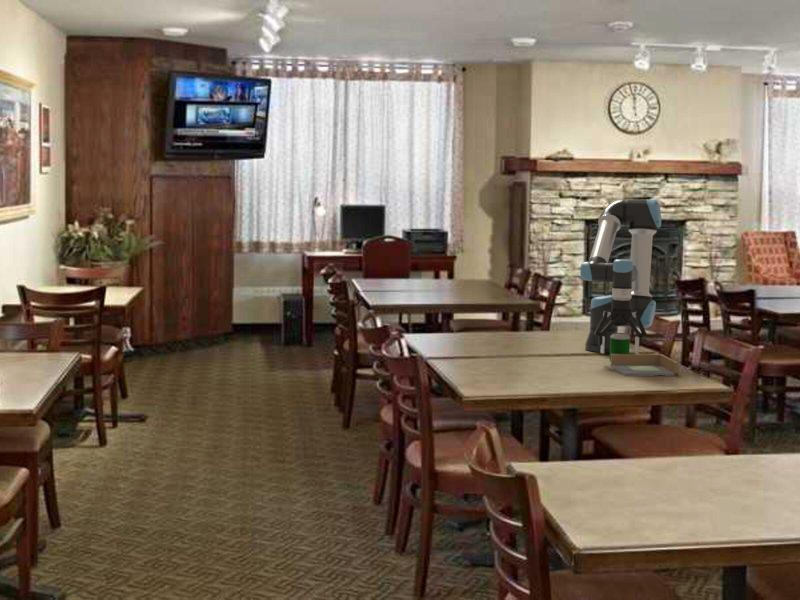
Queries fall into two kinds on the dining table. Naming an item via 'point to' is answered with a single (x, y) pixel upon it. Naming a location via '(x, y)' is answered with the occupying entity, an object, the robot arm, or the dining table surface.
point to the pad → (643, 368)
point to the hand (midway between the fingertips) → (619, 353)
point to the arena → (644, 364)
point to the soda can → (619, 344)
